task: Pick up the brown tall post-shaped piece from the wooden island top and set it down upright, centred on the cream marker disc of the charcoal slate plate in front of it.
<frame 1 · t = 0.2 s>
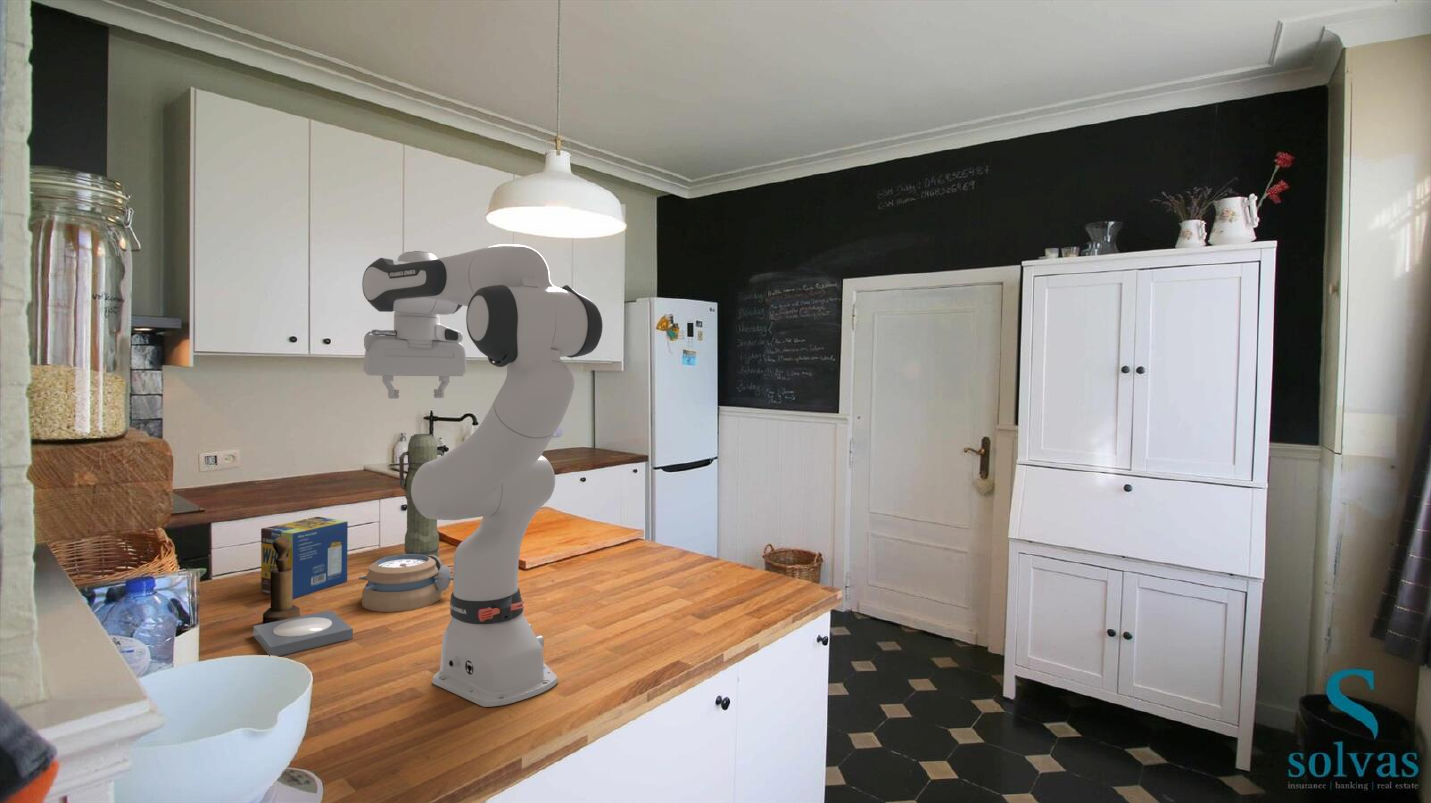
hand: (416, 398, 145), 48 cm above the worktop, tool pointing down, fingers open, 8 cm apart
thermos: (421, 558, 195), on the worktop
slate plate: (303, 637, 137), on the worktop
brown tall post-shaped piece: (281, 622, 145), on the worktop
protein box: (305, 588, 168), on the worktop
alarm clock: (416, 598, 163), on the worktop
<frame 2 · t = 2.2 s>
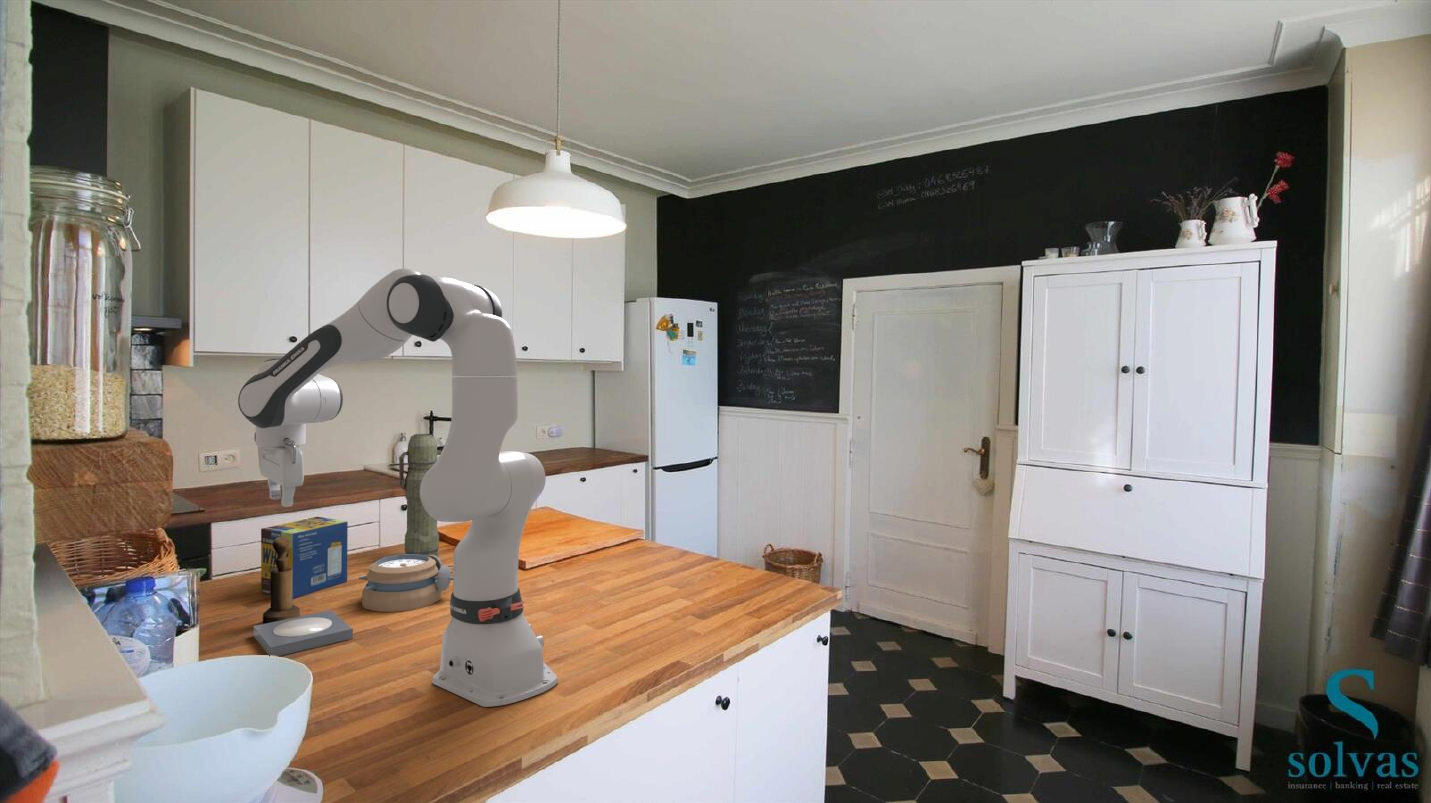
hand: (281, 502, 144), 25 cm above the worktop, tool pointing down, fingers open, 8 cm apart
nothing on the worktop moved.
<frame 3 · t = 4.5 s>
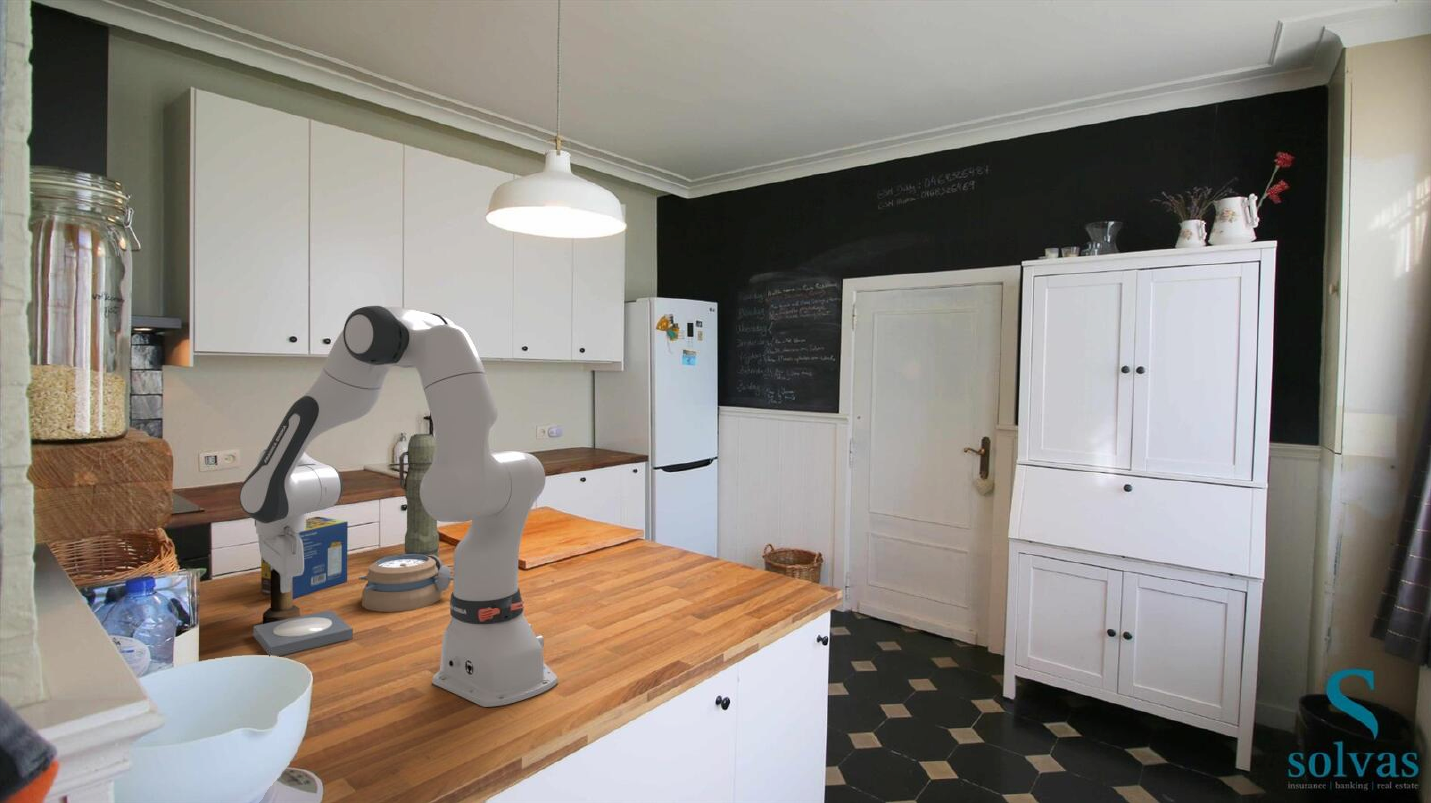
hand: (281, 588, 145), 7 cm above the worktop, tool pointing down, fingers closed on brown tall post-shaped piece, 4 cm apart
brown tall post-shaped piece: (281, 622, 145), on the worktop, touching gripper
everything else where it was.
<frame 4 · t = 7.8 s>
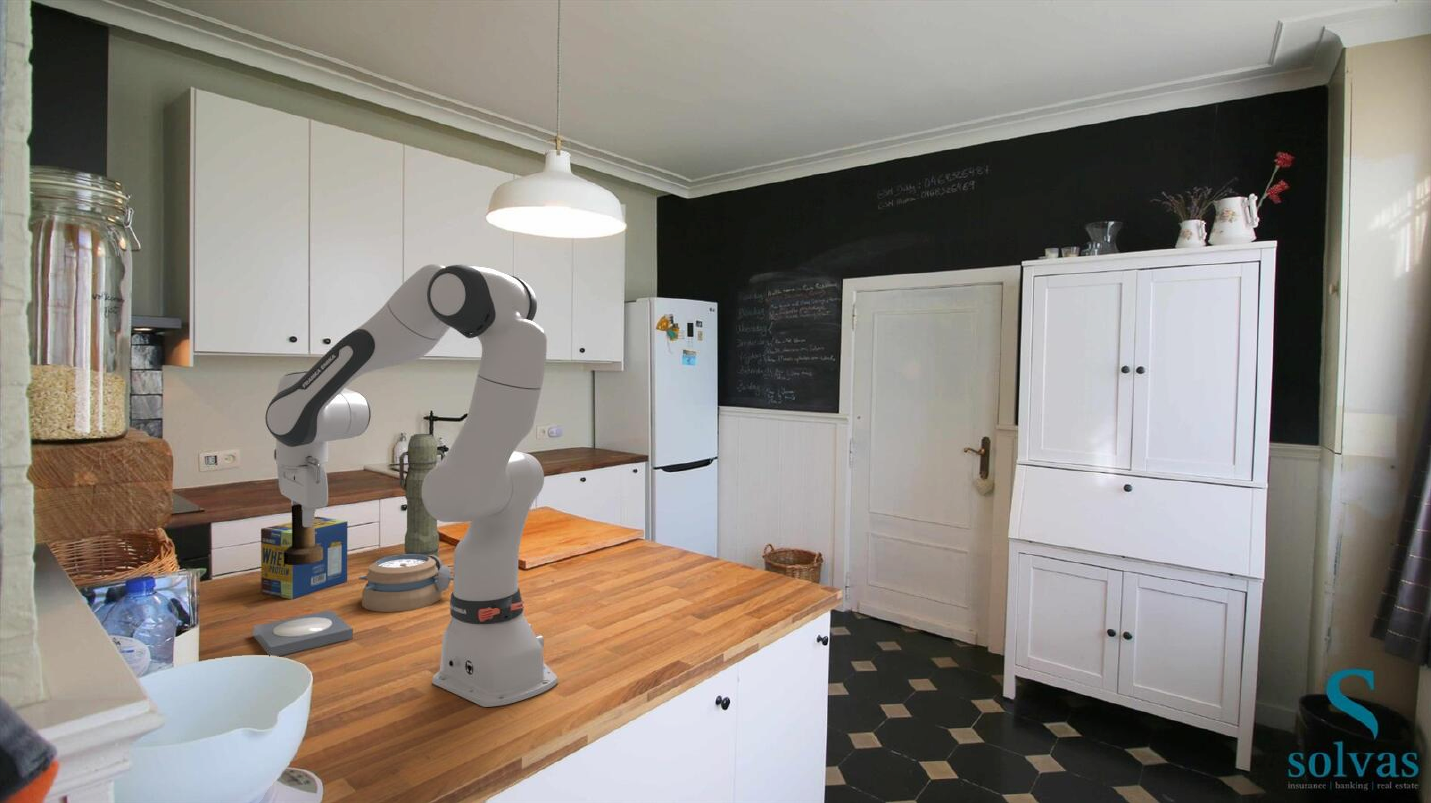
hand: (303, 524, 136), 23 cm above the worktop, tool pointing down, fingers closed on brown tall post-shaped piece, 4 cm apart
brown tall post-shaped piece: (303, 561, 137), point 15 cm above the worktop, touching gripper
everything else where it was.
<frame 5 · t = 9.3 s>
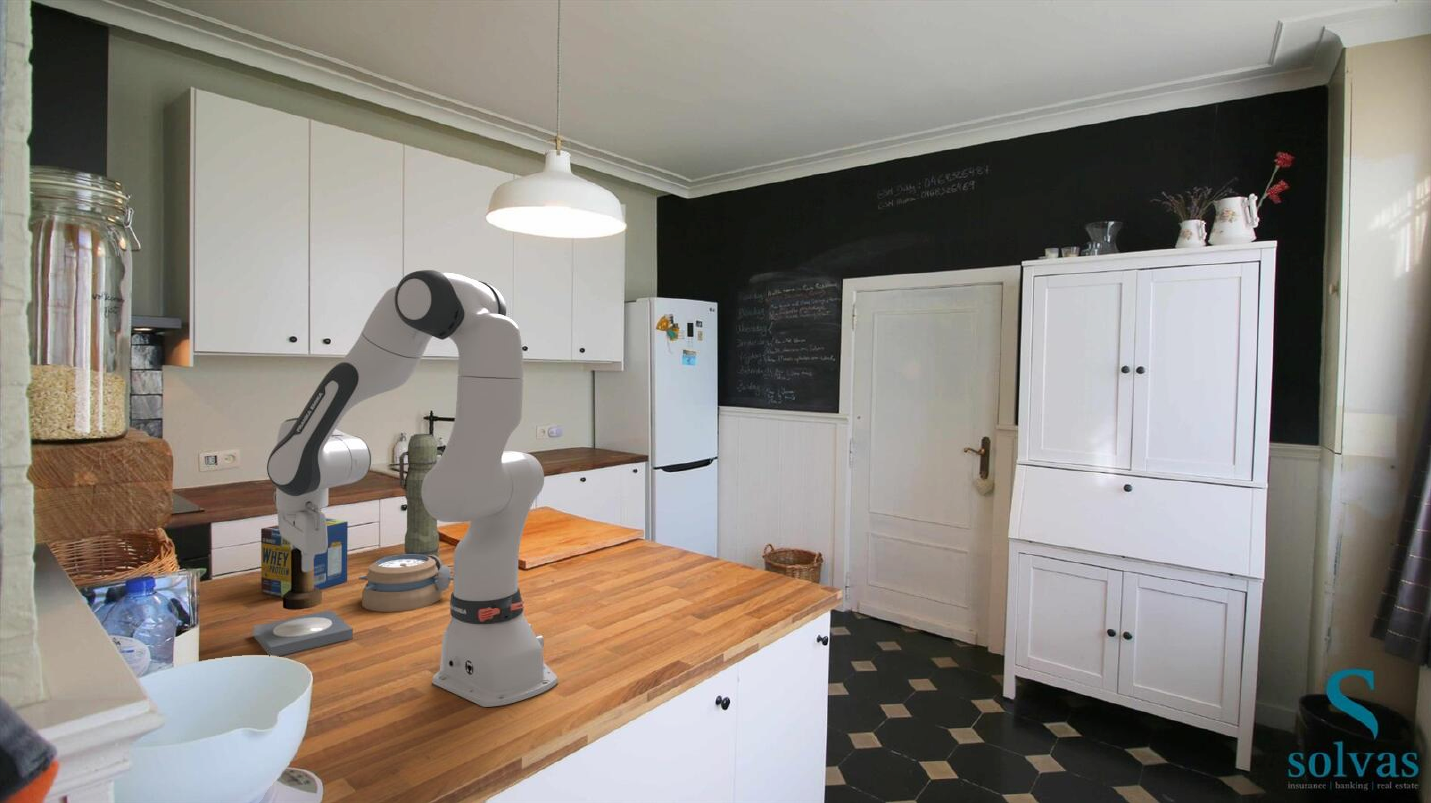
hand: (302, 567, 137), 14 cm above the worktop, tool pointing down, fingers closed on brown tall post-shaped piece, 4 cm apart
brown tall post-shaped piece: (302, 605, 137), point 6 cm above the worktop, touching gripper
everything else where it was.
when the fingers open (10 cm above the worktop, at t = 10.8 s): brown tall post-shaped piece stays where it is, resting on slate plate.
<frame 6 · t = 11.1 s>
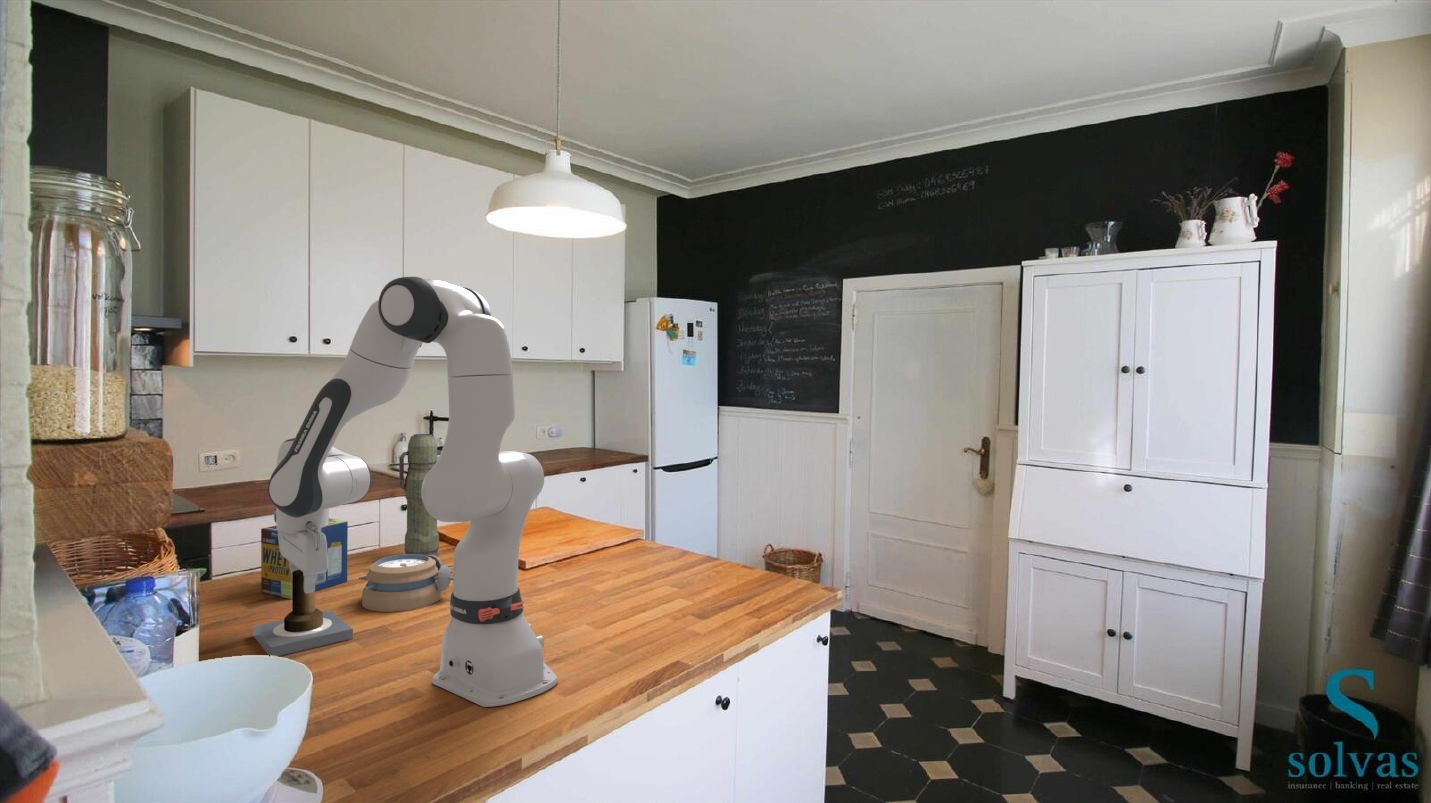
hand: (303, 587, 137), 10 cm above the worktop, tool pointing down, fingers open, 6 cm apart
brown tall post-shaped piece: (303, 627, 137), point 2 cm above the worktop, touching slate plate
everything else where it was.
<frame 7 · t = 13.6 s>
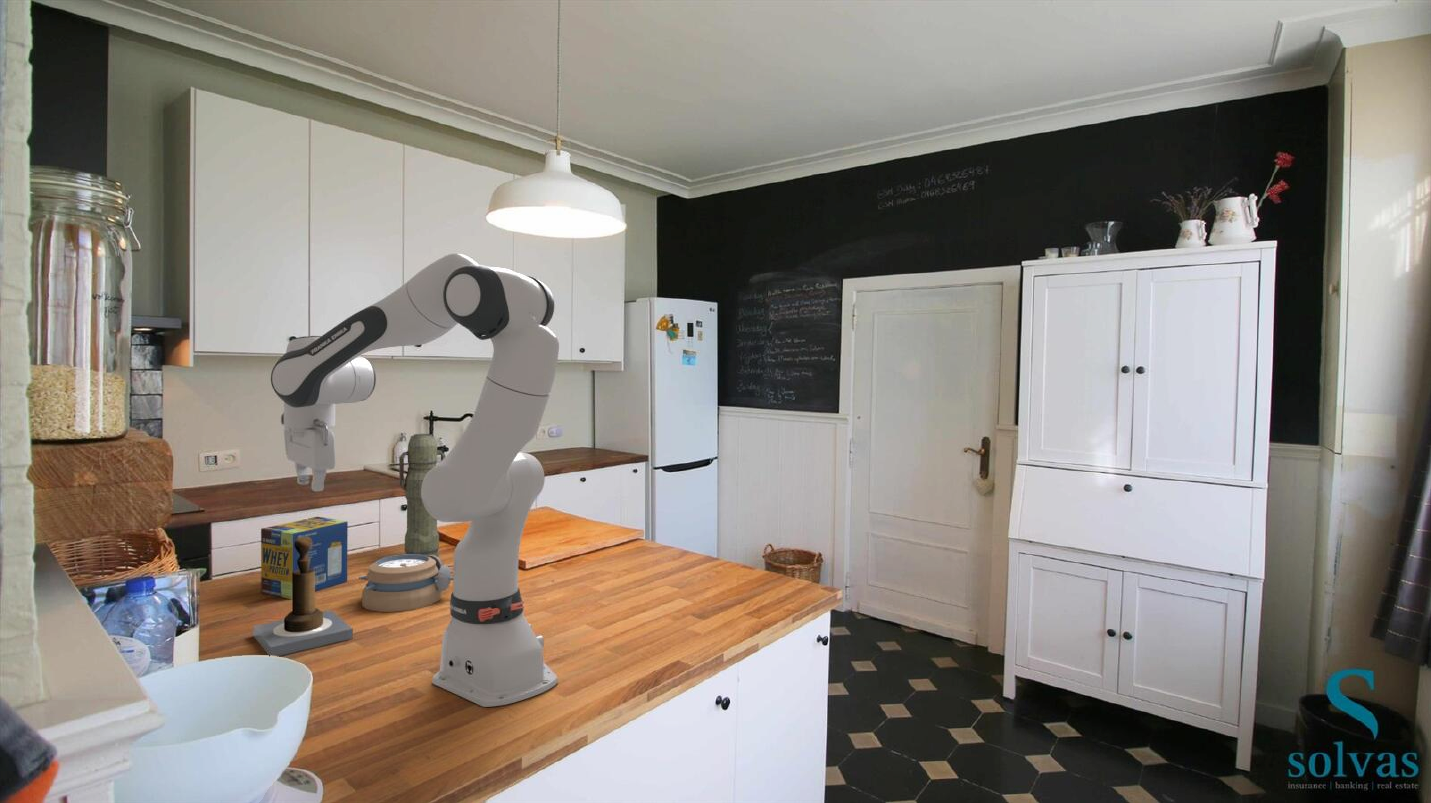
hand: (310, 487, 138), 30 cm above the worktop, tool pointing down, fingers open, 8 cm apart
nothing on the worktop moved.
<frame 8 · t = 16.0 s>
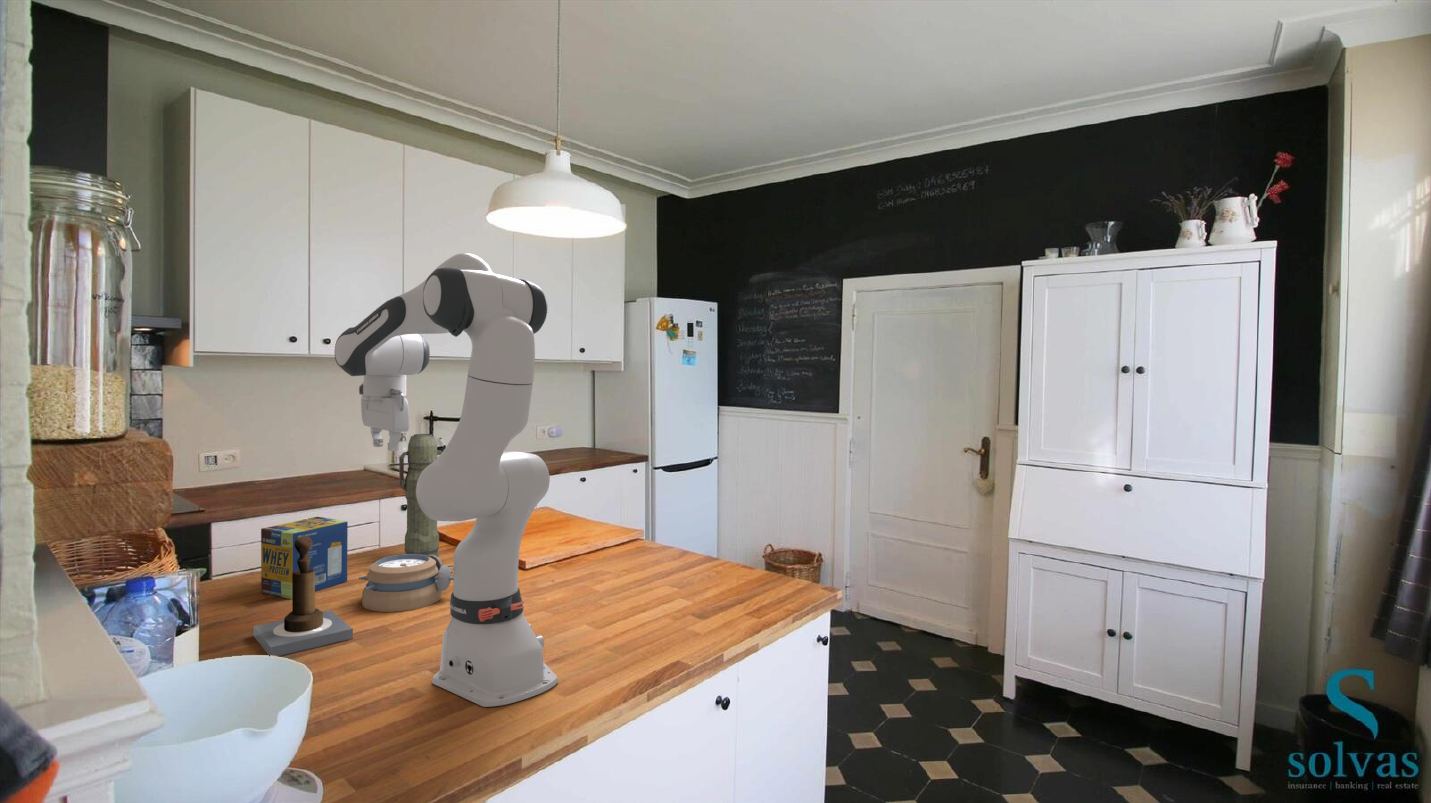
hand: (385, 448, 159), 35 cm above the worktop, tool pointing down, fingers open, 8 cm apart
nothing on the worktop moved.
at the end: brown tall post-shaped piece 0.2 cm off-centre on the slate plate, point 2.0 cm above the slate plate's base; brown tall post-shaped piece tilted 0°; brown tall post-shaped piece touching slate plate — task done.
